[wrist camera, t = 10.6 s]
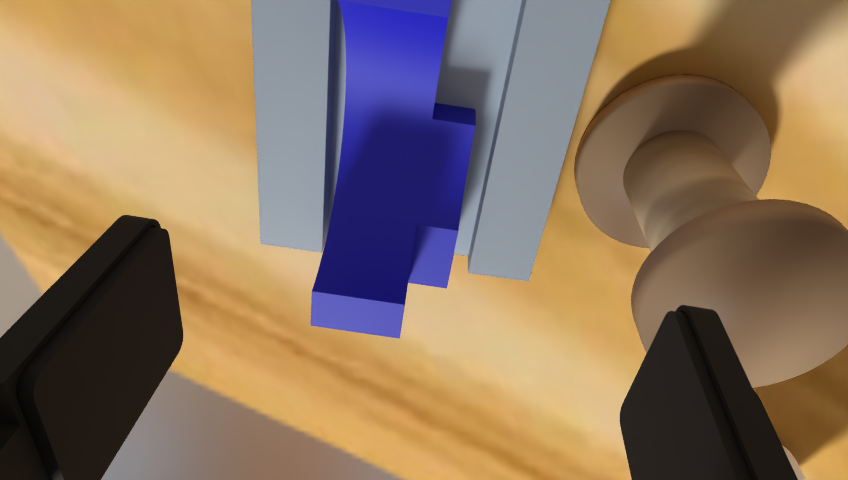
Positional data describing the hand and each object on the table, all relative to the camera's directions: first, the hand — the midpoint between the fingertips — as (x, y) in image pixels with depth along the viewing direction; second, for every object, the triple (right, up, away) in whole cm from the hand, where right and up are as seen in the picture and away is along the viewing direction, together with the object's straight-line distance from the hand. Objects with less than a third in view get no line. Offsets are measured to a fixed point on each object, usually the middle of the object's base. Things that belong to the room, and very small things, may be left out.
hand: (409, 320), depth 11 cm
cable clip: (0, +7, +10) cm, 12 cm away
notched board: (0, +8, +11) cm, 13 cm away
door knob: (+10, +5, +12) cm, 16 cm away
